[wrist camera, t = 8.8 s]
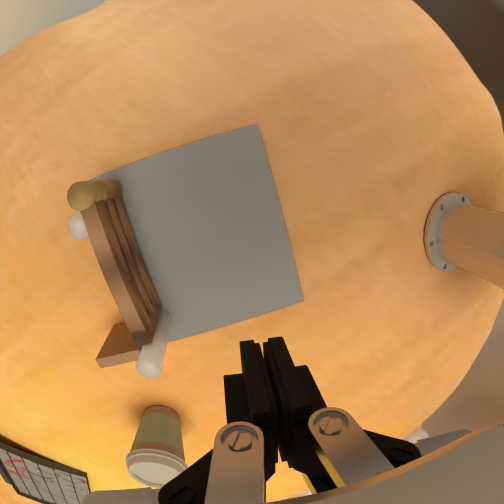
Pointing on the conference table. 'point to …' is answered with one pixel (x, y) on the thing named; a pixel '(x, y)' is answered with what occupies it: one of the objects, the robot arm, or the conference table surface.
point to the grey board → (203, 241)
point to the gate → (118, 255)
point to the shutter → (42, 478)
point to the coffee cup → (157, 448)
